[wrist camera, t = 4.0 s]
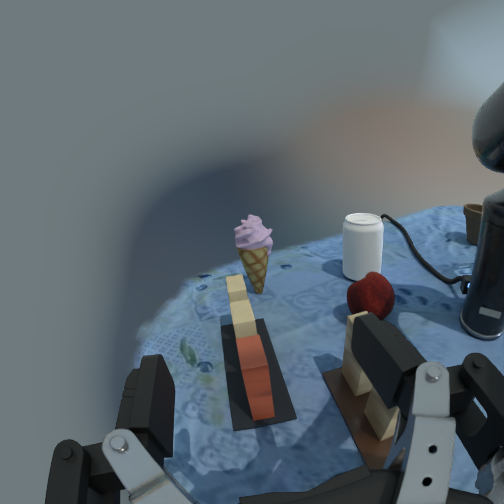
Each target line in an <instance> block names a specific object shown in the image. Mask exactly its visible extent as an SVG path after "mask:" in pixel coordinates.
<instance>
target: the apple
mask: <svg viewBox="0 0 504 504" xmlns="http://www.w3.org/2000/svg"><path fill="white" fill-rule="evenodd" d="M394 301H395V295H394V291H393V288H392V286H391V284H390V283H389V282H388V280H387V279H386V278H385V277H384V276H382V275H381V274H380V273H378V272H373V271H372V272H369V273H367V274H366V276H365V278H363V279H361V280H359V281H357V282H355V283H353V284H351V285H350V286H349V288H348V290H347V302H348V306H349V309H350V311H351V313H352V315H354V314H357V313H361V312H364V311H367V312H368V313H370V312H372V313H374V314H375V316H376V317H377V318H378V319H379V320H380V321H381V320H383V319H384V318H386V317H387V316H388V315H389V314H390V312H391V311H392V309H393V306H394Z"/></svg>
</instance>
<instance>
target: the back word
mask: <svg viewBox="0 0 504 504" xmlns="http://www.w3.org/2000/svg"><path fill="white" fill-rule="evenodd" d="M226 282H227V289H228V295H229V300H230V308H231V314H232V320H233V324H229V325H224V326H221V332H222V342H223V351H224V360H225V368H226V377H227V385H228V393H229V400H230V408H231V415H232V422H233V429H234V431H239V430H245V429H251V428H257V427H262V426H267V425H272V424H277V423H281V422H285V421H290V420H294V419H297V417H296V414H295V411H294V408H293V405H292V402H291V399H290V396H289V393H288V391H287V388H286V385H285V382H284V379H283V376H282V373H281V370H280V367H279V364H278V361H277V358H276V355H275V352H274V349H273V346H272V343H271V340H270V337H269V334H268V331H267V328H266V325H265V322H264V319H263V318H262V319H257V320H255V318H254V315H253V311H252V308H251V304H250V301H249V299H248V297H247V291H246V287H245V283H244V279H243V276H242V274H241V275H235V276H230V277H226ZM254 335H260V339H261V342H262V346H263V349H264V353H265V356H266V359H267V363H268V368H269V376H270V384H271V391H272V399H273V407H274V415H275V417H271V418H266V419H261V420H256V421H253V417H252V413H251V409H250V405H249V401H248V397H247V393H246V389H245V384H244V380H243V376H242V371H241V366H240V361H239V355H238V349H237V344H236V339H237V338H243V337H248V336H254Z"/></svg>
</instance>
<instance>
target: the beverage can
mask: <svg viewBox="0 0 504 504" xmlns="http://www.w3.org/2000/svg"><path fill="white" fill-rule="evenodd" d="M382 246H383V223H382V222H381V218H380V217H379V216H377V215H374V214H368V213H355V214H350V215H348V216H346V218H345V221H344V223H343V274H344V275H345V276H346V277H348V278H349V279H352V280H355V281H359V280H361V279H363V278H365V276H366V274H367V273H369V272H372V271H373V272H378V273H380V272H381V260H382Z"/></svg>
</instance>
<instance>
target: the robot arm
mask: <svg viewBox="0 0 504 504" xmlns="http://www.w3.org/2000/svg"><path fill="white" fill-rule="evenodd" d="M472 144H473V149H474V152H475V154H476V156H477V158H478V160H479V161H480V162H481V164H482V165H484V166H485V167H486V168H488V169H490V170H492V171H495V172H499V173H504V82H503V83H502V84H501V85H500V86H499V88H498V89H497V90H496V91H495V92H494V93H493V94H492V95H491V96H490V97H489V98H488V99H487V100H486V101H485V102H484V103H483V104H482V106H481V107H480V108H479V110H478V112H477V114H476V116H475V119H474V123H473V127H472ZM383 217H386V218H387V219H389V220H390V221H391V222H392V223H394V224H395V225H397V226H398V227H399V228H400V229H401V230H402V231H403V233H404V234H405V236H406V238H407V240H408V242H409V245H410V247H411V249H412V251H413V252H414V254H415V255H416V256H417V258H418V259H419V260H420V262H421V263H422V264H423V265H424V266H425V267H427V268H428V269H429V270H430V271H431V272H432V273H433V274H434V275H435V276H436V277H437V278H439V279H440V280H442V281H443V282H445V283H447V284H455V283H457V282H459V281H462V282H461V286H460V289H461V291H462V294H467V295H466V298H465V302H464V305H463V308H462V310H461V313H460V322H461V325H462V326H463V328H464V329H465V330H466V331H467V332H468V333H470V334H471V335H473V336H475V337H477V338H480V339H484V340H493V339H496V338H498V337H500V336H501V335H502V333H503V331H504V188H503V189H502V190H500V191H498V192H496V193H493V194H491V195H488V196H486V197H485V199H484V201H483V206H482V216H481V224H480V232H479V239H478V245H477V251H476V256H475V261H474V266H473V271H472V275H463V276H458V277H456V278H454V279H448V278H446V277H444V276H442V275H441V274H439V273H438V272H437V271H436V270H435V269H434V268H433V267H432V266H431V265H430V264H429V263H427V262H426V261H425V260H424V259H423V258H422V257H421V255H420V254H419V253H418V251H417V250H416V249H415V247H414V245H413V243H412V241H411V239H410V237H409V235H408V233H407V232H406V230H405V229H404V228H403V227H402V226H401V225H400V224H399V223H398V222H396V221H395V220H393V219H392V218H391V217H389V216H388V215H385V214H383V215H382V216H381V217H380V218H381V222H382V219H383ZM351 350H352V353H353V356H354V358H355V359H356V361H357V362H358V364H359V365H360V367H361V368H362V370H363V371H364V373H365V374H366V376H367V377H368V379H369V380H370V382H371V384H372V385H373V387H374V388H375V390H376V391H377V393H378V394H379V396H380V398H381V399H382V401H383V402H384V404H385V405H386V407H387V409H391V408H393V407H395V406H398V408H399V409H400V410H399V412H398V417H397V422H396V427H395V432H394V436H393V441H392V445H391V449H390V452H389V454H388V457H387V459H386V461H385V464H384V467H383V469H370V470H369V469H368V467H367V465H366V464H365V465H363V466H360V467H358V468H355V469H353V470H350V471H347V472H344V473H342V474H339V475H336V476H335V477H333V478H331V479H330V480H328V481H326V482H324V483H323V484H321V485H319V486H317V487H315V488H313V489H311V490H309V491H306V492H271V493H265V494H259V495H253V496H246V497H239V500H240V503H239V504H504V376H503V375H502V373H501V372H500V371H499V370H498V369H497V368H496V367H495V366H494V365H493V363H492V362H491V361H490V360H489V359H488V358H487V357H486V356H484V355H483V354H480V353H471V354H469V355H467V356H466V357H465V359H464V361H463V363H462V365H457V366H452V367H447V368H446V367H445V366H444V365H442V364H441V363H438V362H434V361H429V362H427V361H426V360H425V359H424V357H423V356H422V355H421V354H420V353H419V352H418V351H417V350H416V349H415V347H414V346H413V345H412V344H411V343H410V342H409V341H408V340H406V338H405V337H404V335H403V334H402V335H401V332H400V331H399V330H398V329H397V328H396V327H395V326H394V325H392V324H390V323H389V322H387V321H385V320H383V321H380V320H379V319H378V318H377V317H376V316H375V314H374V313H372V312H370V313H367V314H364V315H360V316H357V317H355V318H354V322H353V331H352V340H351ZM124 389H125V390H124V391H123V395H122V397H123V398H122V400H121V404H120V409H119V413H118V418H117V423H116V427H115V430H113V431H111V432H109V433H108V434H107V435H106V436H105V437H104V439H103V441H102V442H101V443H97V444H92V445H88V446H83V447H82V446H81V445H80V444H79V443H78V442H76V441H74V440H71V439H68V440H64V441H62V442H60V443H59V444H58V445H57V446H56V447H55V449H54V453H53V457H52V462H51V467H50V473H49V478H48V485H47V491H46V498H45V504H120V490H123V489H127V491H128V493H129V494H130V496H129V500H130V502H131V503H132V504H200V503H199V502H198V501H196V500H195V499H194V498H193V497H192V496H191V495H190V494H189V493H188V492H187V491H186V490H185V489H184V488H183V487H182V486H181V485H180V484H179V483H178V482H177V481H176V479H175V478H174V477H173V476H172V475H171V474H170V473H169V472H168V471H167V469H166V468H165V467H164V458H171V457H173V430H174V407H175V385H174V381H173V378H172V376H171V374H170V372H169V370H168V367H167V365H166V363H165V361H164V358H163V356H162V355H161V354H158V355H147V356H143V357H142V360H141V364H140V369H133V370H132V372H131V373H130V374H129V376H128V377H127V379H126V383H125V387H124ZM475 397H476V399H477V400H478V401H479V403H480V404H481V405H482V407H483V408H484V409H485V411H486V413H487V419H486V417H485V416H484V414H483V413H482V412H481V410H480V409H479V407H478V406H477V405H476V403H475V402H474V401H473V399H474V398H475ZM455 432H456V434H457V435H458V437H459V439H460V440H461V442H462V444H463V445H464V447H465V449H466V450H467V452H468V454H469V455H470V457H471V459H472V460H473V462H474V464H475V466H476V467H477V469H478V471H479V472H478V475H477V480H476V482H475V487H476V488H477V489H479V494H474V493H470V492H465V491H461V490H457V489H453V488H449V484H450V478H451V471H452V464H453V455H454V444H455Z"/></svg>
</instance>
